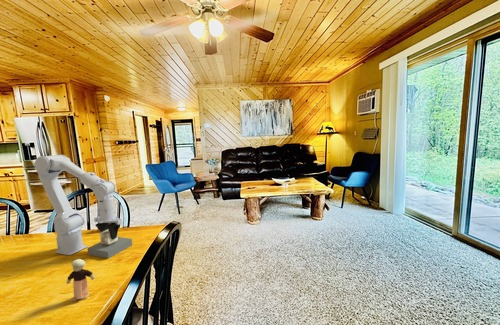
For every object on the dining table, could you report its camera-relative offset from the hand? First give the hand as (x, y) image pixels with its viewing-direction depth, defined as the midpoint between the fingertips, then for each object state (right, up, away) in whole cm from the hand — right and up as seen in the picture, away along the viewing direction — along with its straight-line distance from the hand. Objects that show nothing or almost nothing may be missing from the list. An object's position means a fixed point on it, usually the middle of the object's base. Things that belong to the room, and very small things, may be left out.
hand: (109, 237), depth 96 cm
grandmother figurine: (+11, -9, -29) cm, 32 cm away
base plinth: (0, -6, +1) cm, 6 cm away
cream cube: (0, -2, 0) cm, 2 cm away
